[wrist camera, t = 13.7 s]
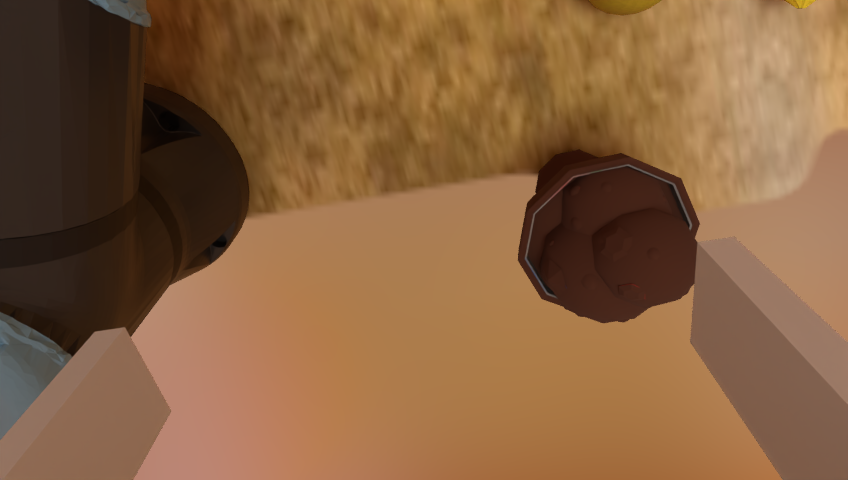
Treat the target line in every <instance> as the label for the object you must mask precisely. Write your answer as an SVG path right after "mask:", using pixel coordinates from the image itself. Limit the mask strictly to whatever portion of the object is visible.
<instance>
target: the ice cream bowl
mask: <svg viewBox="0 0 848 480" xmlns="http://www.w3.org/2000/svg"><path fill="white" fill-rule="evenodd" d="M535 192H536V194H535V195H534V196H533V197H532V198H531V199H530V201H529V202H528V203H527V207H526V212H525V218H524V223H523V228H522V234H521V239H520V245H519V253H518V261H519V263H520V265H521V266H522V268H523V269H524V271H525V273H526V274H527V276H528V278H529V279H530V281H531V282H532V284H533V286H534V287H535V289H536V291H537V292H538V294H539V295H540V297H541V298H542V299H544V300H546V301H549V302H552V303H555V304H558V305H560V306H563V307H564V308H565V309H567V310H569V311H571V312H574V313H575V314H577V315H578V316H580V317H587V318H590V319H593V320H596V321H598V322H601V323H608V322H614V321H618V322H625V321H628V320H629V319H634V318H636V317H637V316H638V315H640V314H641V313H643V312H644V311H645V310H647V309H648V308H650V307H652V306H656V305H660V304H664V303H668V302H671V301H676V300H678V299H681V298H682V296H684V295H686V294H687V293H688V291H689V289H690V288H691V286H692V285H693V284H694V283H695V269H696V255H697V241H696V240H695V236H696V233H697V230H698V227H699V224H700V223H699V220H698V218H697V216H696V213H695V211H694V208H693V206H692V204H691V201H690V199H689V196H688V194H687V192H686V189H685V187H684V184H683V182H682V180H681V178H679V177H676V176H674V175H672V174H669V173H667V172H665V171H662V170H660V169H658V168H655V167H653V166H651V165H648V164H646V163H643V162H641V161H639V160H636V159H634V158H632V157H629V156H627V155H624V154H622V153H620V154H615V155H611V156H606V157H601V158H598V157H595V156H593V155H590V154H588V153H586V152H583V151H581V150H575V151H570V152H566V153H561V154H557V155H555V156H554V157H553V158H552V159H551V160H550V161H549V162H548V163H547V164H546V165H545V166H544V167H543V168H542V169H541V170H540V171H539V175H538V180H537V186H536V191H535Z"/></svg>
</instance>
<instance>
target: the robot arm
mask: <svg viewBox="0 0 848 480" xmlns="http://www.w3.org/2000/svg"><path fill="white" fill-rule="evenodd" d="M147 27H151V15H150V14H149V13H148V11H147V7H146V0H0V480H133V479H134V477H135V476H136V474H137V472H138V470H139V468H140V467H141V465H142V463H143V461H144V459H145V457H146V456H147V454H148V452H149V450H150V449H151V447H152V445H153V443H154V441H155V440H156V438H157V436H158V434H159V432H160V430H161V429H162V427H163V425H164V423H165V422H166V420H167V418H168V416H169V414H170V412H171V410H170V408H169V406H168V404H167V403H166V400H165V399H164V397H163V395H162V394H161V391H160V390H159V388H158V386H157V384H156V383H155V381H154V379H153V377H152V375H151V374H150V372H149V370H148V368H147V366H146V364H145V363H144V361H143V359H142V357H141V355H140V354H139V352H138V350H137V348H136V346H135V345H134V343H133V341H132V339H131V336H132V335H133V333H134V332H135V330H136V329H137V328H138V327H139V325H140V324H141V323H142V321H143V320H144V318H145V317H146V316H147V315H148V313H149V312H150V310H151V309H152V308H153V306H154V305H155V304H156V303H157V301H158V300H159V298H160V297H161V296H162V294H163V293H164V292H165V290H166V289H167V288H168V287H169V285H171V284H173V283H175V282H177V281H179V280H181V279H183V278H185V277H187V276H189V275H191V274H193V273H195V272H197V271H200V270H201V269H203V268H205V267H207V266H208V265H210V264H211V263H213V262H214V261H215V260H217V259H218V258H219V257H220V256H221V255H222V254H223V253H224V252H225V251H226V249H227V248H228V247H229V246H230V244H231V243H232V241H233V240H234V238H235V237H236V235H237V234H238V232H239V231H240V229H241V227H242V225H243V223H244V220H245V217H246V214H247V209H248V202H249V188H248V181H247V176H246V172H245V169H244V165H243V163H242V160H241V158H240V156H239V154H238V152H237V150H236V148H235V146H234V145H233V143H232V142H231V140H230V139H229V137H228V136H227V135H226V133H225V132H224V131H223V130H222V128H221V127H220V126H219V125H218V124H217V123H216V122H215V121H214V120H213V119H212V118H211V117H210V116H209V115H208V114H207V113H205V112H204V111H203V110H202V109H200V108H199V107H197V106H196V105H195V104H193V103H192V102H190V101H188V100H187V99H185V98H183V97H181V96H179V95H177V94H175V93H173V92H171V91H168V90H166V89H163V88H160V87H157V86H153V85H149V84H144V74H145V55H146V36H147ZM690 342H691V344H692V345H693V347H694V348H695V350H696V351H697V353H698V354H699V356H700V357H701V359H702V360H703V362H704V363H705V365H706V366H707V368H708V369H709V371H710V372H711V374H712V375H713V377H714V378H715V380H716V381H717V383H718V384H719V385H720V387H721V388H722V390H723V392H724V393H725V395H726V396H727V397H728V399H729V400H730V402H731V403H732V405H733V406H734V408H735V409H736V411H737V412H738V414H739V415H740V417H741V418H742V420H743V421H744V423H745V424H746V426H747V427H748V429H749V430H750V432H751V433H752V435H753V436H754V438H755V439H756V441H757V442H758V444H759V445H760V447H761V448H762V449H763V451H764V452H765V454H766V456H767V457H768V459H769V460H770V462H771V463H772V464H773V466H774V467H775V469H776V470H777V472H778V473H779V475H780V476H781V478H782V479H783V480H848V342H847V341H846V340H845V339H844V338H843V337H842V336H840V335H839V334H838V333H837V332H836V331H835V330H834V329H833V328H832V327H831V326H830V325H829V324H828V323H827V322H825V321H824V320H823V319H822V318H821V317H820V316H819V315H818V314H817V313H816V312H815V311H814V310H813V309H811V308H810V307H809V306H808V305H807V304H806V303H805V302H804V301H803V300H802V299H801V298H800V297H798V296H797V295H796V294H795V293H794V292H793V291H792V290H791V289H790V288H789V287H788V286H787V285H786V284H784V283H783V282H782V281H781V280H780V279H779V278H778V277H777V276H776V275H775V274H774V273H772V271H771V270H770V269H769V268H767V267H766V266H765V265H764V264H763V263H762V262H761V261H760V260H759V259H758V258H757V257H756V256H755V255H753V254H752V253H751V252H750V251H749V250H748V249H747V248H746V247H745V246H744V245H743V244H742V243H740V241H738V240H737V239H736V238H735V237H729V238H722V239H715V240H709V241H702V242H697V255H696V269H695V283H694V297H693V311H692V325H691V339H690Z"/></svg>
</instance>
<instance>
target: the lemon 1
mask: <svg viewBox="0 0 848 480" xmlns="http://www.w3.org/2000/svg"><path fill="white" fill-rule="evenodd" d="M588 1H589V2H590V3H591V4H592V5H593V6H594V7H595V8H597V9H600V10H602V11H604V12H606V13H609V14H615V15H629V14H636V13H639V12H641V11H644V10H646V9H649V8H651V7H652V6H654V5H655V4H657V3H658V2H660V1H661V0H588Z"/></svg>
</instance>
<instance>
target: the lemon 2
mask: <svg viewBox="0 0 848 480" xmlns="http://www.w3.org/2000/svg"><path fill="white" fill-rule="evenodd" d="M785 1H786V2H788V3H789V4H791V5H792V6H794V7H795V8H797V9H802V8H806V7H808V6H809V5H810V4H812V3H813V2H814V1H816V0H785Z"/></svg>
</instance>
